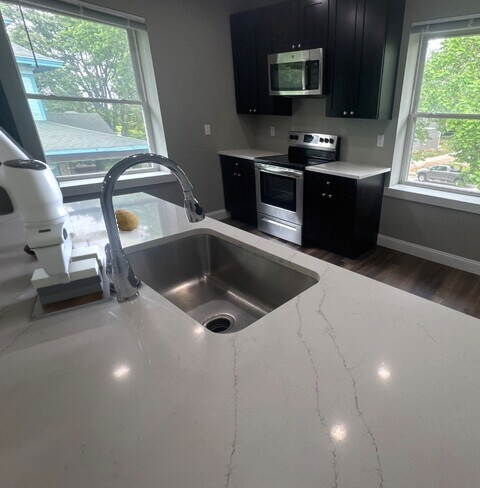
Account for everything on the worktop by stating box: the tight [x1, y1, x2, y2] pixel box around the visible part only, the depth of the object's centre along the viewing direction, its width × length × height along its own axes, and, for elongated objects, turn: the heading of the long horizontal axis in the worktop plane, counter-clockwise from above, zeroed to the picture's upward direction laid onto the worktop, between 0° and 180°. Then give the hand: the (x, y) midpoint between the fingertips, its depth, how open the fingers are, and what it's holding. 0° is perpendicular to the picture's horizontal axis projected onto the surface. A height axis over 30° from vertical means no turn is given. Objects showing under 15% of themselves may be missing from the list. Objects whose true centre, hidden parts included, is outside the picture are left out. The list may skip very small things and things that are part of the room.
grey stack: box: [35, 266, 103, 305], centre depth 81 cm, size 13×7×5 cm, turn 124°
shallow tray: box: [30, 251, 111, 319], centre depth 88 cm, size 16×32×2 cm, turn 34°
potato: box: [114, 208, 140, 232], centre depth 123 cm, size 10×14×8 cm
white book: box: [30, 258, 98, 290], centre depth 80 cm, size 13×6×2 cm, turn 124°
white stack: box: [71, 244, 103, 267], centre depth 93 cm, size 13×7×5 cm, turn 124°
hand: (68, 274), depth 80 cm, fingers open, 7 cm apart
